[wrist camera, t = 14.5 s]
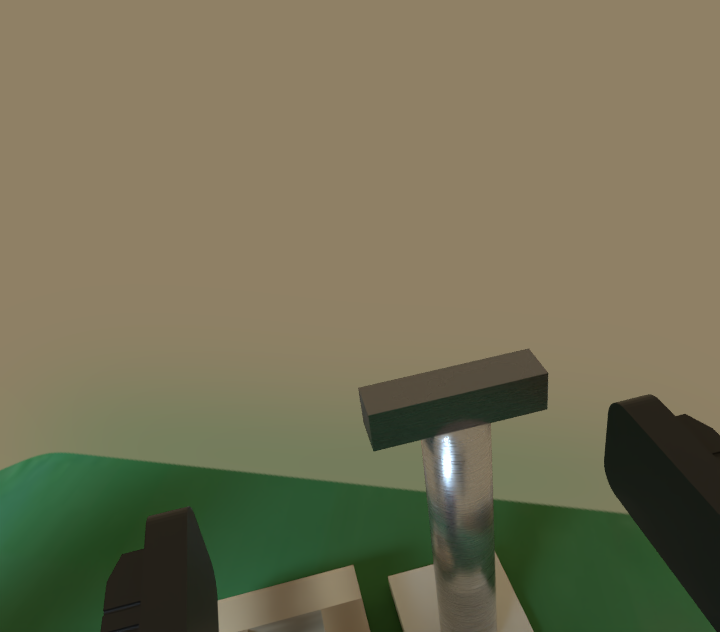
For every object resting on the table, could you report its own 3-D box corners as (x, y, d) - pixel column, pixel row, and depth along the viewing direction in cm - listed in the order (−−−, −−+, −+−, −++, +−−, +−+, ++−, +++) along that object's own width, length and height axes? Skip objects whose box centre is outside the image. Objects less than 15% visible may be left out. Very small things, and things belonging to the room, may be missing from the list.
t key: (409, 677, 37) (371, 424, 28) (394, 626, 40) (355, 380, 31) (546, 638, 38) (554, 380, 29) (523, 591, 41) (523, 341, 32)
